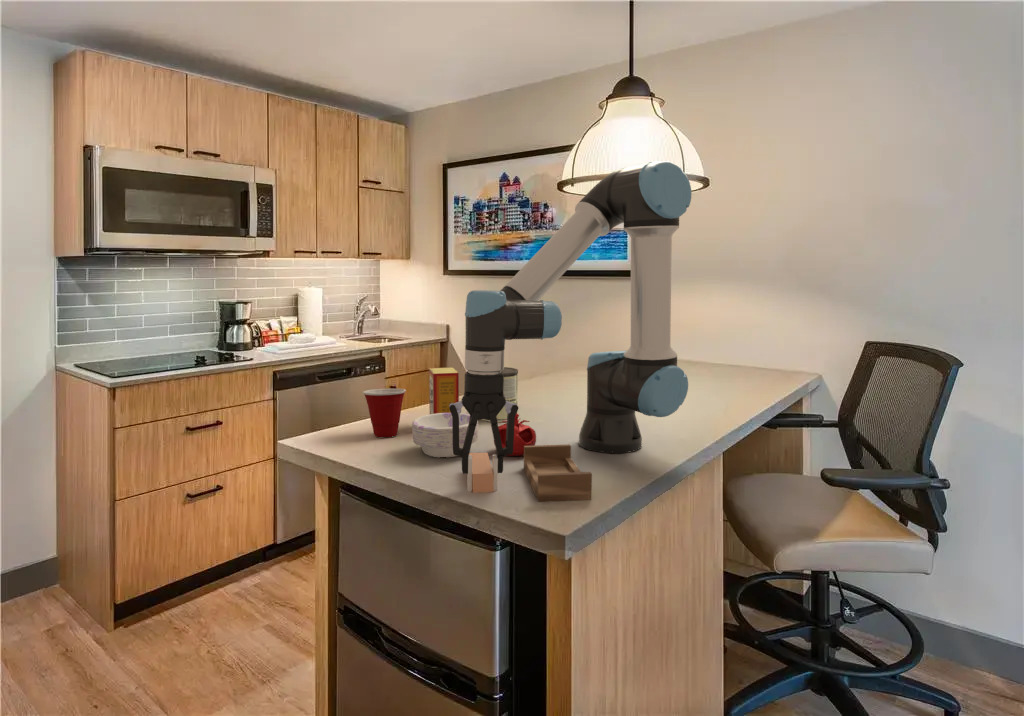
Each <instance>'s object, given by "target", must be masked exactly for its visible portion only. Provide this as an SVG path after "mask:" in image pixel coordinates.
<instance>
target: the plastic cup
mask: <svg viewBox="0 0 1024 716" xmlns="http://www.w3.org/2000/svg"><path fill="white" fill-rule="evenodd" d="M406 391H407V390H406V389H404V388H377V389H376V388H374V389H367V390H363V391H362V394H363V395H364V398H365V400H366V404H367V409H368V413H369V418H370V423H371V427H372V431H373V434H374V435H373V436H374V437H375V436H377V437H376V438H378V437H391V438H393V437H392V436H395V437H396V435H398V432H399V424H400V422H401V421H400V419H401V414H402V413H401V412H402V406H403V402H404V397H405V393H406Z"/></svg>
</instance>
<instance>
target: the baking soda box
mask: <svg viewBox="0 0 1024 716" xmlns="http://www.w3.org/2000/svg"><path fill="white" fill-rule="evenodd" d="M428 387H429V388H428V389H429V390H428V391H429V392H428V393H429V395H428V396H429V403H428V404H429V405H428V406H429V415H430V414H437V413H451V412H450V409H449V404H450V403H456V402H459V401H460V398H459V397H460V396H459V391H460V390H459V372H458V371H457V370H456V369H455V368H454V367H428Z"/></svg>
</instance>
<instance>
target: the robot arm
mask: <svg viewBox="0 0 1024 716" xmlns="http://www.w3.org/2000/svg"><path fill="white" fill-rule="evenodd" d="M692 194H693V193H692V186H691V183H690V180H689V177H688V175H687V173H685V172H684V171H683V170H682V168H681V166H679V165H678V164H676V163H675V162H672V161H666V160H665V161H663V160H662V161H650V162H648V163H643V164H638V165H635V166H630V167H624V168H619V169H616V170H614V171H612V172H611V173H609V174H608V175H606V176H605V177H603V178H602V179H601V180H600V181H599V182H598V183H597V184H595V185H594V186H593V187H592V188H591V189H590V190H589V191H588V192H587V193H586V194H585V195H584V196H583V197H582V198H581V199H580V200H579V201H578V202H577V204H575V207H574V213H573V214H572V215H571V216H570V217H569V218H568V219H567V220H566V222H565V223H563V225H562V226H561V227H560V228H559V229H558V230H556V232H555V233H554V234H553V235H552V236H551V238H550V239H548V241H546V243H545V244H543V246H542V247H540V249H539V250H538V251H537V252H536V253H535V254H534V255H533V256H532V257H531V258H530V259H529V260H528V261H527V263H526V264H524V265H523V266H522V267H521V269H519V270H518V271H517V273H515V275H514V276H513V277H512V278H511V279H510V280H509V281H508V282H507V283H506V284H505V285H504V286H503V287H502V288H501V289H500V290H486V289H483V290H482V289H476V290H470V291H469V292H468V293H467V294H466V295H467V296H466V301H465V312H464V316H465V345H464V347H465V349H464V370H466V372H465V373H464V391H463V396H462V397H461V400H459V402H456V403H450V404H449V409H450V412H451V414H452V433H453V454H454V455H458V456H457V457H461V471H462V474H463V475H464V474H465V475H466V474H467V475H466V477H467V481H466V483H467V484H466V485H467V486H466V488H467V492H473V491H472V455H469V453H471V452H470V451H471V447H472V444H473V443H472V440H473V436H474V432H475V428H476V425H477V421H478V422H479V421H482V420H483V419H486V420H490V422H489V423H490V426H491V431H492V438H493V437H494V438H493V443H494V442H495V444H494V447H495V451H496V454H492V462H491V463H492V464H491V467H492V470H493V492H495V491H498V474H502V473H503V471H504V458H505V457H506V456H507V455H511V454H512V453H513V443H514V424H515V416H516V413H517V414H518V411H519V406H518V403H517V404H516V403H511V402H508V401H506V399H505V397H504V394H503V392H504V374H503V373H502V372H501V371H502V370H503V369H504V367H505V348H506V347H505V344H506V341H508V340H509V341H512V340H541V341H543V340H545V339H552V338H553V339H554V338H555V337H556V336H558V335H559V333H560V331H561V327H562V324H563V323H562V322H563V321H562V319H563V316H562V311H561V309H560V306H559V305H558V304H557V303H556V302H554V301H550V300H549V301H548V300H542V299H541V298H542V297H544V295H545V294H546V293H547V292H548V291H549V290H550V289H551V288H552V287H553V286H554V284H555V283H556V282H557V281H558V280H559V279H560V278H561V277H562V276H563V275H564V274H565V273H566V272H567V270H568V269H569V268H571V266H572V265H573V264H574V263H575V262H576V261H577V260H578V259H579V258H580V257H581V256H582V255H583V254H584V253H585V252H586V250H588V248H590V246H591V245H592V244H593V243H594V242H595V241H596V240H597V239H598V238H599V237H604V236H607V235H608V234H609V233H610V231H612V230H613V229H614V228H615V227H617V226H619V225H621V224H623V231H624V232H625V233H627V234H628V235H629V237H630V347H629V348H628V349H627V350H615V351H612V350H611V351H599V352H593V353H591V354H590V355H589V356H588V359H587V365H586V366H587V367H586V373H587V374H586V375H587V378H586V379H587V380H586V381H587V382H586V386H587V387H586V414H585V417H584V420H583V423H582V426H581V428H580V431H579V435H578V444H579V446H580V447H581V448H584V449H586V450H588V451H589V450H590V451H592V452H593V451H594V452H598V453H599V452H600V453H606V454H607V453H609V454H610V453H611V454H622V453H621V452H624V453H629V452H628V451H631V452H634V451H633V450H635V451H637V450H636V449H638V448H640V447H641V448H642V446H641V445H642V444H643V443H642V441H643V440H642V439H643V437H642V434H641V430H640V427H639V424H638V421H637V417H636V412H637V413H640V414H643V415H645V416H648V417H655V418H666V417H669V416H671V415H673V414H675V413H676V412H677V411H678V410H679V408H680V406H682V405H683V403H684V401H685V399H686V398H687V395H688V391H689V379H688V376H687V374H686V373H685V371H684V370H683V369H682V368H680V366H678V354H677V352H676V351H675V350H673V348H672V347H671V332H672V331H671V326H672V324H671V321H672V320H671V318H672V317H671V316H672V315H671V314H672V310H671V309H672V245H673V244H672V239H673V234H674V233H676V232H677V231H678V229H679V228H680V217H681V216H683V215H684V214H685V213H686V212H687V209H688V208H689V207H690V205H691V201H692ZM504 406H505V407H506V412H507V413H508V414H507V429H506V447H504V448H502V443H501V438H500V433H499V428H498V426H499V425H498V424H499V423H498V422H497V417H496V416H497V415H498V413H499V412H500V411H501V410H502V408H503V407H504ZM462 408H464V409H465V410H466V411H467V413H468V415H470V419H469V424H468V428H467V432H466V436H465V440H464V445H463V449H462V448H459V415H458V414H459V413H462ZM641 448H640V449H641ZM638 450H639V449H638Z"/></svg>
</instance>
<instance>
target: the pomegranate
mask: <svg viewBox="0 0 1024 716" xmlns="http://www.w3.org/2000/svg"><path fill="white" fill-rule="evenodd" d="M519 417H520V414H519V413H517V414H516V416H515V424H514V443H513V453H512V454H511V455H506V456H507V457H514V456H515V457H516V456H518V457H519V456H524V446H535V445H536V443H537V434H536V431H535V430H534V429H533V428H532V427H531V426H529V425H527V424H523V423H529V422H530V420H526V419H523V420H521V418H519ZM506 420H507V419H506ZM520 420H521V421H520ZM502 422H505V423H504V424H501V422H500V423H499V424H500V425H498V428H499V433H500V438H501V443H502V448H504V447H506V429H507V421H502ZM492 438H493V439H494V437H493V436H492ZM493 444H494V445H495V442H494V441H493Z"/></svg>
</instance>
